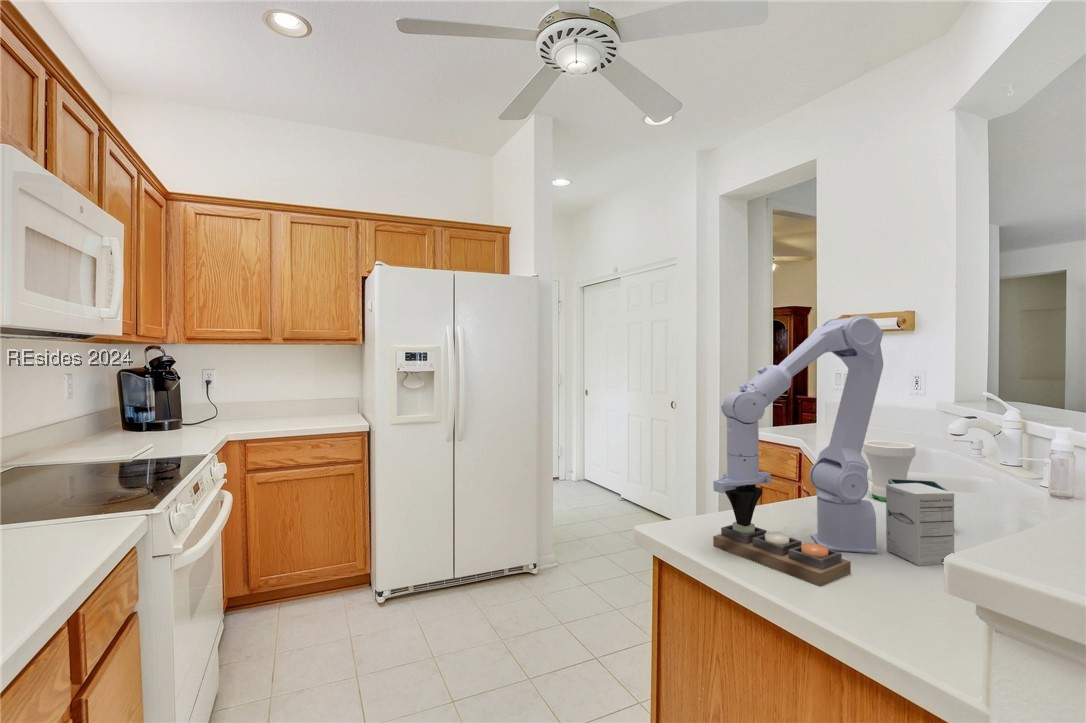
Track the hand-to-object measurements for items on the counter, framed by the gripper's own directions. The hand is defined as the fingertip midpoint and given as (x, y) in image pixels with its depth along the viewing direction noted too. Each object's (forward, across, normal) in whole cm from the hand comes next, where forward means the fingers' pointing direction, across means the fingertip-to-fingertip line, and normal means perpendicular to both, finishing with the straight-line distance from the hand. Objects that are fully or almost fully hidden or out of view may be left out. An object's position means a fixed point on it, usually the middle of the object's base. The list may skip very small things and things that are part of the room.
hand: (743, 524), depth 98 cm
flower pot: (+4, -42, +12) cm, 44 cm away
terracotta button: (+2, 0, +14) cm, 14 cm away
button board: (+4, 0, +7) cm, 8 cm away
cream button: (+2, 0, +7) cm, 7 cm away
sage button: (+2, 0, 0) cm, 2 cm away
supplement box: (+4, -22, +20) cm, 30 cm away
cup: (+4, -59, -2) cm, 60 cm away
